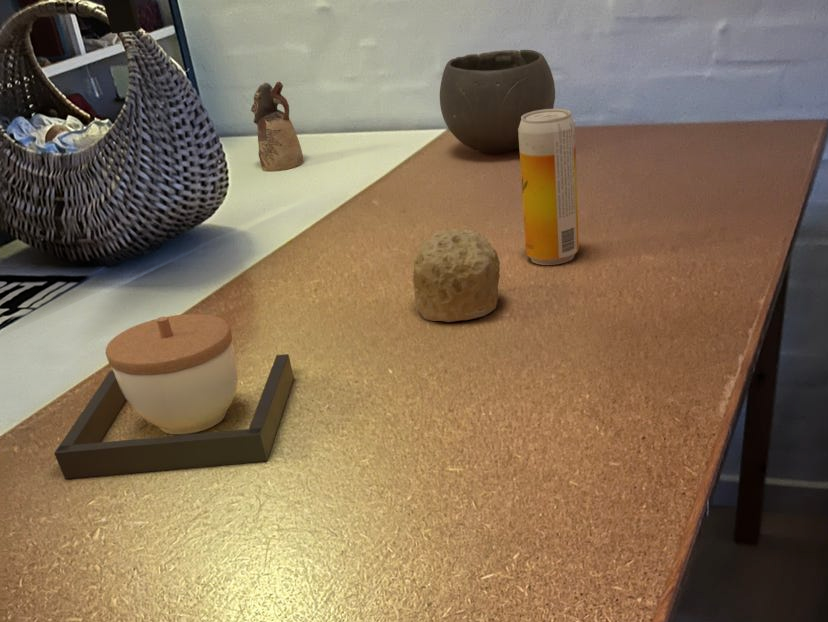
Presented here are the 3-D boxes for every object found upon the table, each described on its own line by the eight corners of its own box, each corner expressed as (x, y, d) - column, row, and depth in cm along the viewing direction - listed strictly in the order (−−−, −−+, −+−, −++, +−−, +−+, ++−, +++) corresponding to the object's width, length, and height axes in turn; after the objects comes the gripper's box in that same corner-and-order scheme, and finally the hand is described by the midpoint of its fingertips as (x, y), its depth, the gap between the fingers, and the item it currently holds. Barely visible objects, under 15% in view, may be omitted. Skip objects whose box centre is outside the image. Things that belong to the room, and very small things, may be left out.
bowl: (526, 128, 164) (521, 41, 156) (577, 148, 151) (575, 54, 143) (428, 149, 159) (418, 60, 151) (472, 171, 146) (463, 75, 138)
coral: (434, 291, 109) (426, 219, 104) (513, 293, 106) (508, 220, 101) (402, 323, 102) (391, 249, 97) (485, 327, 99) (478, 251, 94)
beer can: (550, 245, 117) (544, 105, 107) (589, 254, 113) (586, 110, 104) (515, 261, 114) (505, 118, 104) (554, 270, 110) (547, 123, 101)
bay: (118, 394, 95) (109, 370, 93) (294, 378, 94) (288, 353, 93) (64, 479, 83) (53, 453, 81) (267, 461, 82) (260, 434, 80)
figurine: (272, 159, 164) (255, 78, 157) (310, 158, 162) (295, 76, 155) (253, 171, 159) (234, 88, 151) (293, 170, 157) (276, 86, 149)
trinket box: (259, 387, 93) (234, 289, 87) (240, 441, 85) (211, 337, 79) (149, 398, 94) (117, 302, 88) (119, 453, 85) (82, 350, 79)
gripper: (57, -292, 81) (145, 37, 96) (103, -278, 91) (176, 18, 106) (-30, -280, 82) (71, 45, 97) (25, -267, 92) (109, 25, 107)
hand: (126, 30), depth 101 cm, fingers closed
